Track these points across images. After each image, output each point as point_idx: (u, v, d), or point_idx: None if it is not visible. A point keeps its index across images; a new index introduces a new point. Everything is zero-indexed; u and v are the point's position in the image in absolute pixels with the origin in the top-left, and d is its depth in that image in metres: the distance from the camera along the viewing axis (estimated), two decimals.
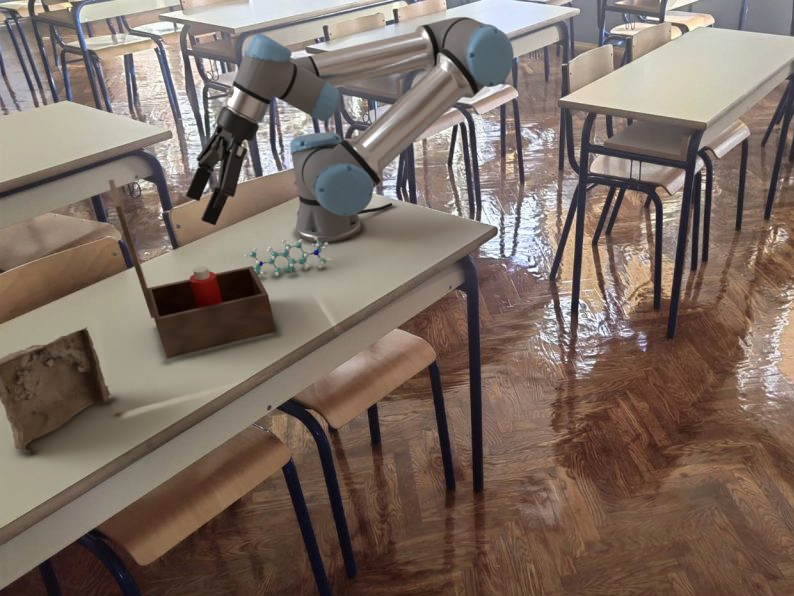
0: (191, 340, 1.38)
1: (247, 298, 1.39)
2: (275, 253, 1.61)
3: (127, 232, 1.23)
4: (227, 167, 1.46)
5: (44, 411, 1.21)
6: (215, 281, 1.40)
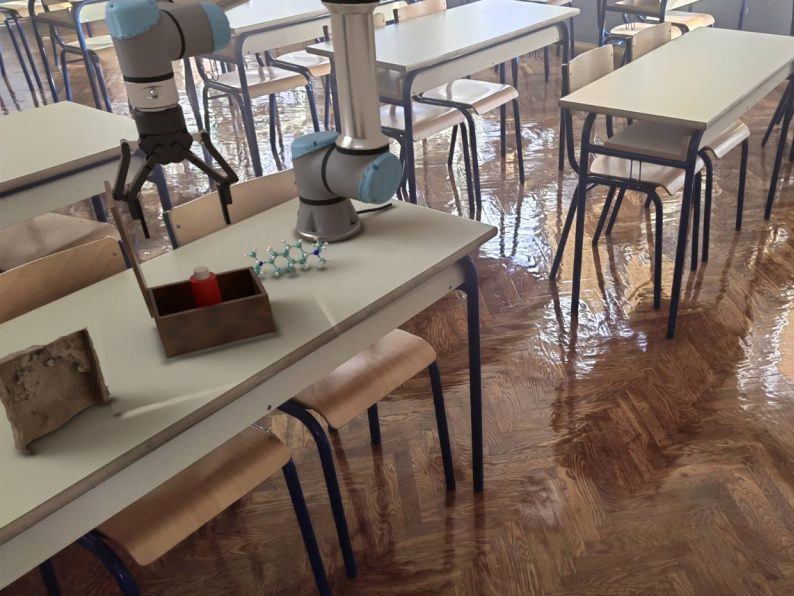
0: (191, 340, 1.38)
1: (247, 298, 1.39)
2: (275, 253, 1.61)
3: (123, 233, 1.23)
4: (219, 158, 1.30)
5: (44, 411, 1.21)
6: (215, 281, 1.40)
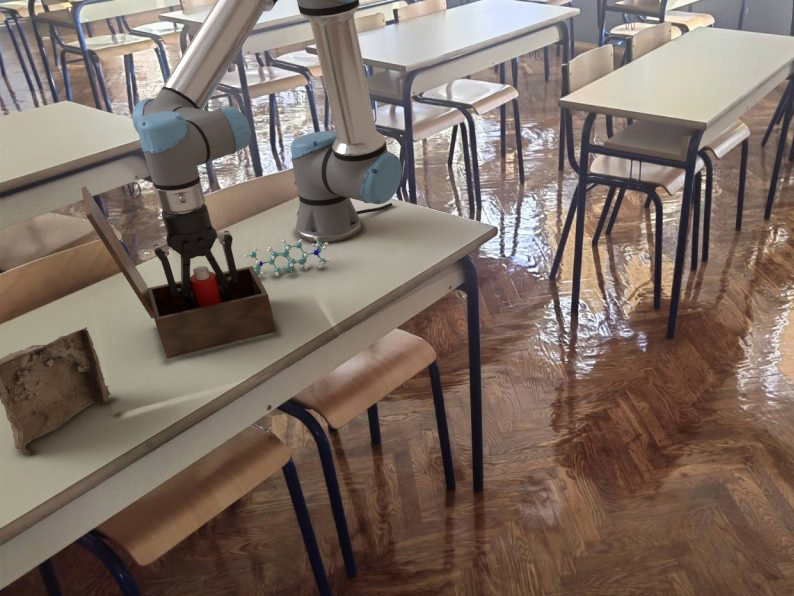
0: (191, 340, 1.38)
1: (247, 298, 1.39)
2: (275, 253, 1.61)
3: (105, 238, 1.22)
4: (231, 260, 1.39)
5: (44, 411, 1.21)
6: (215, 281, 1.40)
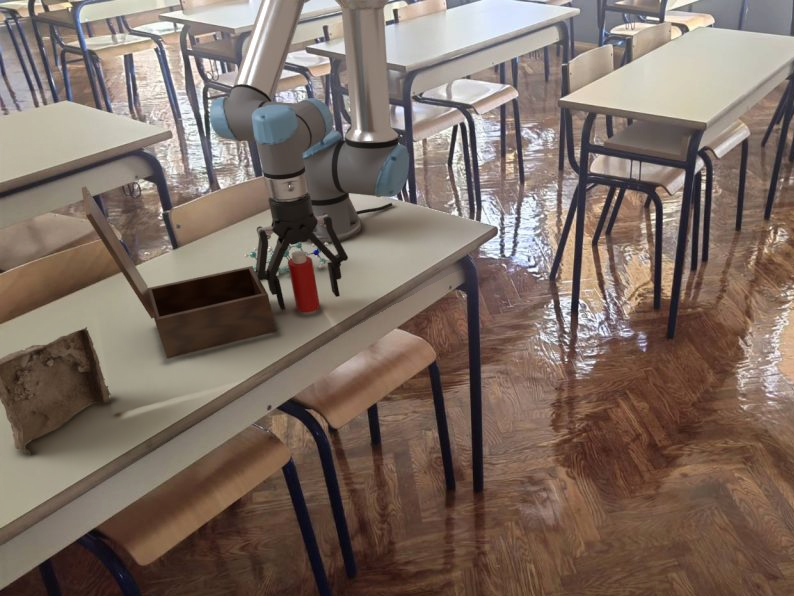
0: (191, 340, 1.38)
1: (247, 298, 1.39)
2: None
3: (105, 238, 1.22)
4: (335, 239, 1.47)
5: (44, 411, 1.21)
6: (311, 265, 1.47)
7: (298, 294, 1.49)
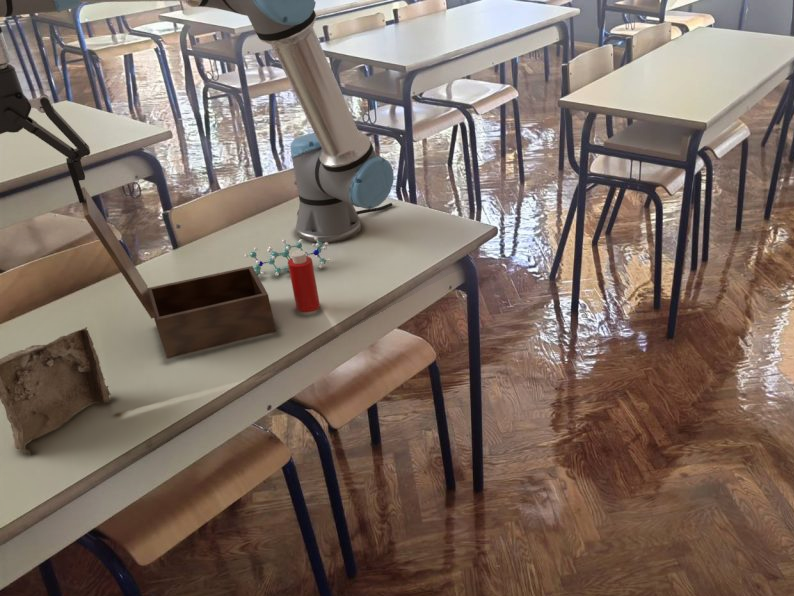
0: (191, 340, 1.38)
1: (247, 298, 1.39)
2: (275, 253, 1.61)
3: (103, 239, 1.22)
4: (64, 127, 1.16)
5: (44, 411, 1.21)
6: (311, 265, 1.47)
7: (298, 294, 1.49)
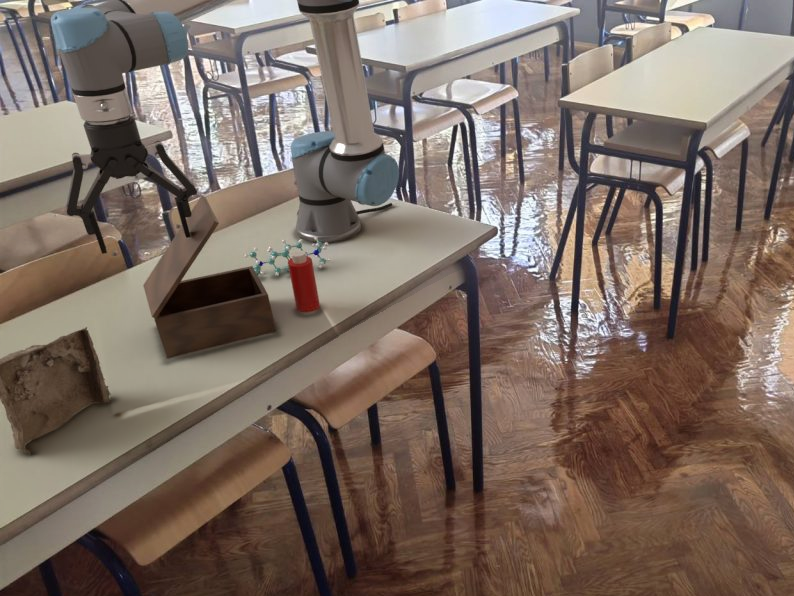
0: (191, 340, 1.38)
1: (247, 298, 1.39)
2: (275, 253, 1.61)
3: (203, 244, 1.30)
4: (175, 170, 1.27)
5: (44, 411, 1.21)
6: (311, 265, 1.47)
7: (298, 294, 1.49)
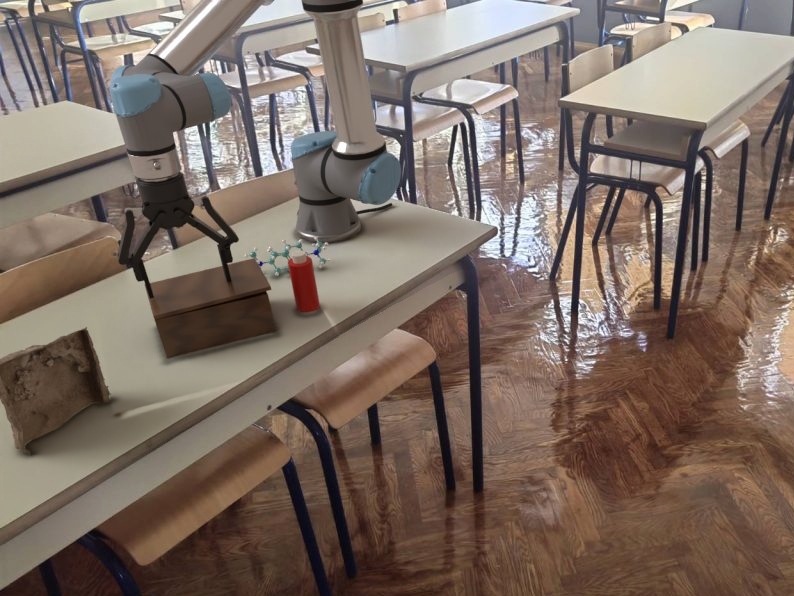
0: (191, 340, 1.38)
1: (247, 298, 1.39)
2: (275, 253, 1.61)
3: (246, 295, 1.38)
4: (219, 220, 1.35)
5: (44, 411, 1.21)
6: (311, 265, 1.47)
7: (298, 294, 1.49)
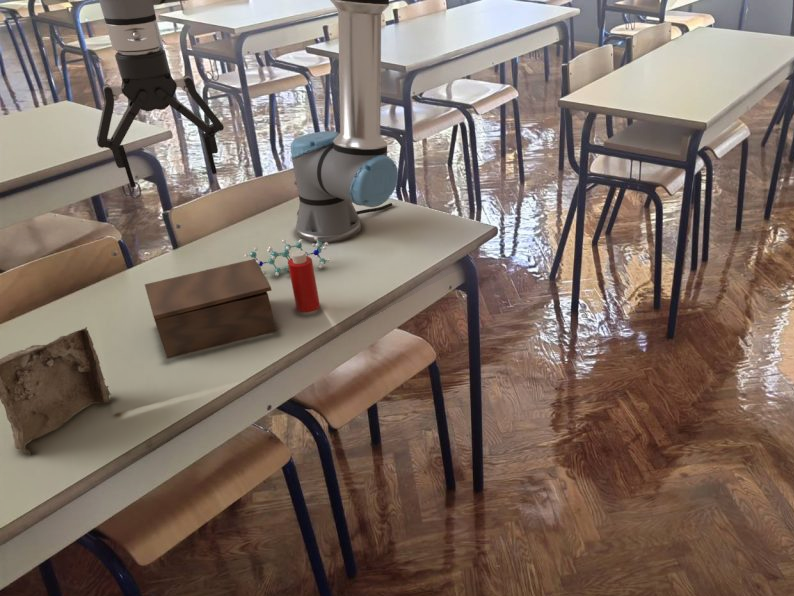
0: (191, 340, 1.38)
1: (247, 298, 1.39)
2: (275, 253, 1.61)
3: (246, 295, 1.38)
4: (203, 105, 1.29)
5: (44, 411, 1.21)
6: (311, 265, 1.47)
7: (298, 294, 1.49)
